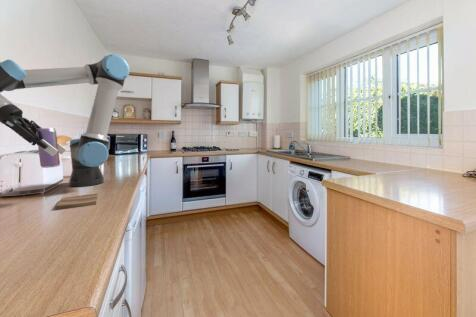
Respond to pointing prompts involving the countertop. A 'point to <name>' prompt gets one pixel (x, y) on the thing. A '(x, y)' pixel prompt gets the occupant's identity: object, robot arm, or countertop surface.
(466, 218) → the countertop surface
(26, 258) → the countertop surface
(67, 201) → the walnut trivet
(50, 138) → the beverage can
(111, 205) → the countertop surface
